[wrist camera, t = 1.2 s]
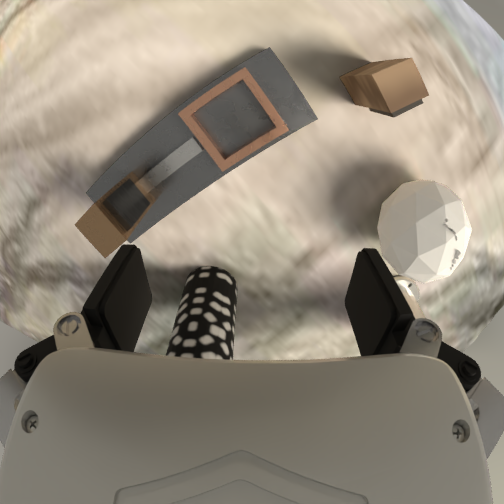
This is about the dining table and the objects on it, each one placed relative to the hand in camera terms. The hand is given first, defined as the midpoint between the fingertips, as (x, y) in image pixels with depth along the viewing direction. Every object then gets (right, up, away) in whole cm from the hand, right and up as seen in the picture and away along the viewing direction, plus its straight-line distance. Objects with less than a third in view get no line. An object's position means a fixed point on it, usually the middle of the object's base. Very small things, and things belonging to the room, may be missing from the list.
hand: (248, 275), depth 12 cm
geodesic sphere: (+23, +7, +25) cm, 34 cm away
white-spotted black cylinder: (-6, -5, +33) cm, 34 cm away
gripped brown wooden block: (+14, +21, +15) cm, 30 cm away
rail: (-8, +14, +21) cm, 26 cm away
